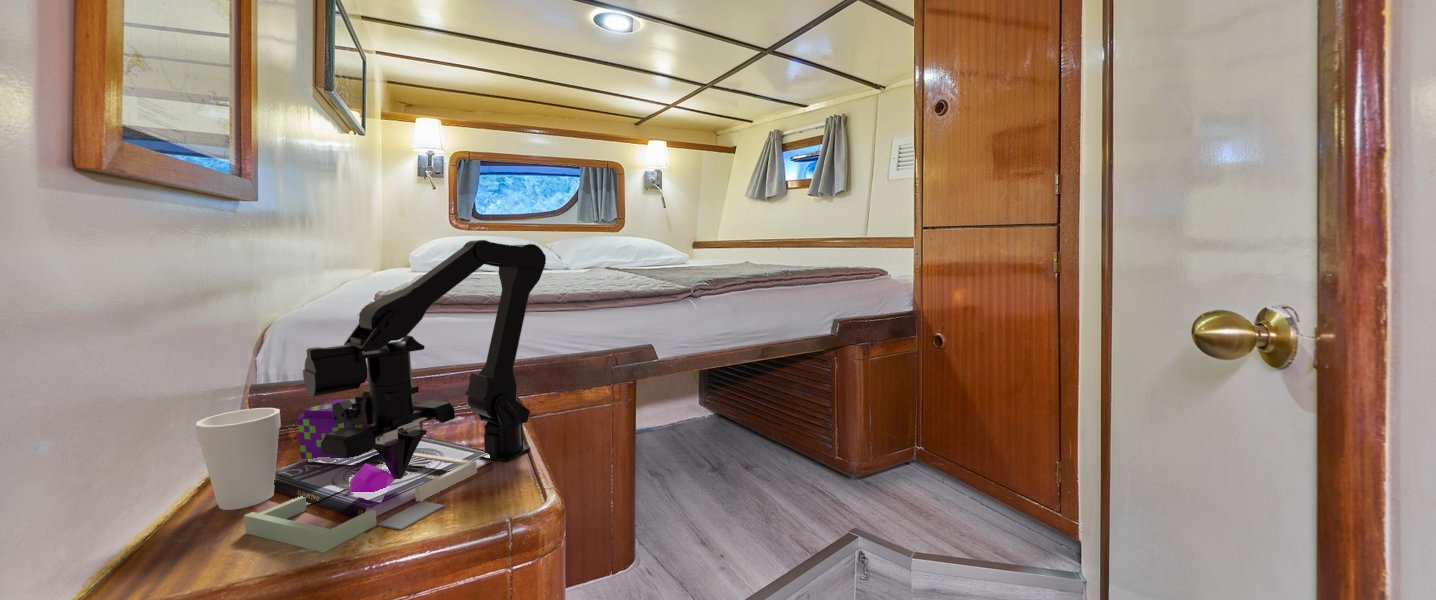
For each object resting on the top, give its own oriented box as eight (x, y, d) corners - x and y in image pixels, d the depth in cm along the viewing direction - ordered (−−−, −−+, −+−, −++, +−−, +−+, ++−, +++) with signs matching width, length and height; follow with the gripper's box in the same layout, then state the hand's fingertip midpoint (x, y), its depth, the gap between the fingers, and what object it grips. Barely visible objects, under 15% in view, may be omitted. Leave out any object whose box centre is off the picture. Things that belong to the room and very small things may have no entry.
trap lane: (410, 462, 93) (409, 449, 93) (476, 472, 89) (476, 458, 88) (245, 533, 70) (243, 515, 70) (323, 552, 65) (322, 533, 65)
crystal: (344, 505, 77) (342, 475, 77) (369, 489, 83) (367, 461, 82) (379, 505, 77) (377, 475, 77) (402, 489, 83) (400, 461, 82)
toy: (381, 409, 89) (284, 404, 93) (385, 471, 90) (290, 464, 94) (424, 393, 99) (336, 390, 103) (428, 450, 100) (340, 444, 104)
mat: (421, 502, 78) (421, 501, 78) (444, 506, 77) (443, 505, 77) (377, 525, 72) (377, 523, 72) (401, 530, 70) (401, 528, 70)
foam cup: (237, 517, 74) (228, 428, 73) (186, 512, 76) (177, 425, 75) (302, 488, 84) (295, 409, 82) (255, 484, 85) (248, 406, 84)
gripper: (405, 366, 93) (411, 451, 94) (290, 394, 75) (300, 498, 77) (454, 370, 89) (460, 458, 91) (344, 399, 72) (354, 509, 73)
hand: (398, 478), depth 83 cm, fingers closed
